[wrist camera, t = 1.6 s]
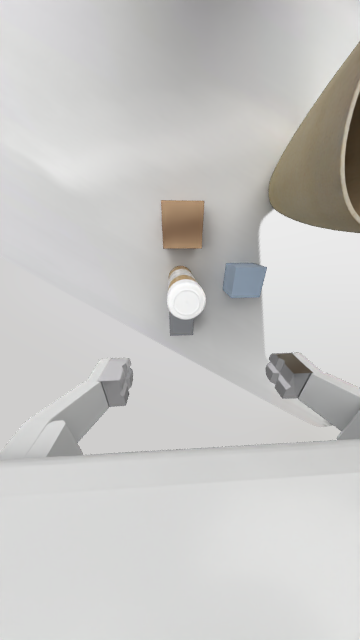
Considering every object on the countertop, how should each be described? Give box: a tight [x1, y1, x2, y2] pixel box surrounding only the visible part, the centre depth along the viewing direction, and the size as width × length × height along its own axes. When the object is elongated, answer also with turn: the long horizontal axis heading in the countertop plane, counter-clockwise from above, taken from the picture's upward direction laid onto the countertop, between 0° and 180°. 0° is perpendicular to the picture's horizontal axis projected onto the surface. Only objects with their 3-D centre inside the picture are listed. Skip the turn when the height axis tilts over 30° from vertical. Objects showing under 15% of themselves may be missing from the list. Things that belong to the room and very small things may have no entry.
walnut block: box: [161, 200, 204, 249], centre depth 23 cm, size 6×6×6 cm
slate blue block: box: [223, 263, 267, 298], centre depth 27 cm, size 5×5×5 cm
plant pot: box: [269, 42, 360, 233], centre depth 16 cm, size 15×15×16 cm
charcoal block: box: [169, 311, 194, 336], centre depth 31 cm, size 4×4×4 cm
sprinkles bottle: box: [167, 266, 206, 320], centre depth 23 cm, size 5×5×13 cm
